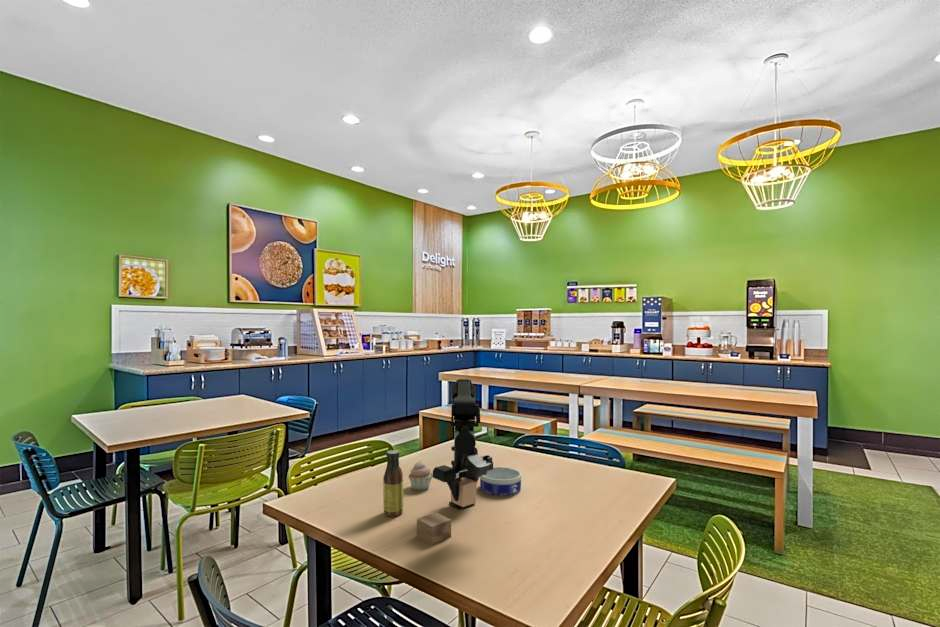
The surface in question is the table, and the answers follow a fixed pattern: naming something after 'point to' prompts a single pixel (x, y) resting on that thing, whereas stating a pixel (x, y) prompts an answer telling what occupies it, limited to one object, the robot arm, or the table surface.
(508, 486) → the dog bowl
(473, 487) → the light wooden cube
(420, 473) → the cupcake
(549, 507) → the table surface
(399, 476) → the sauce bottle
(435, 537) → the walnut block
